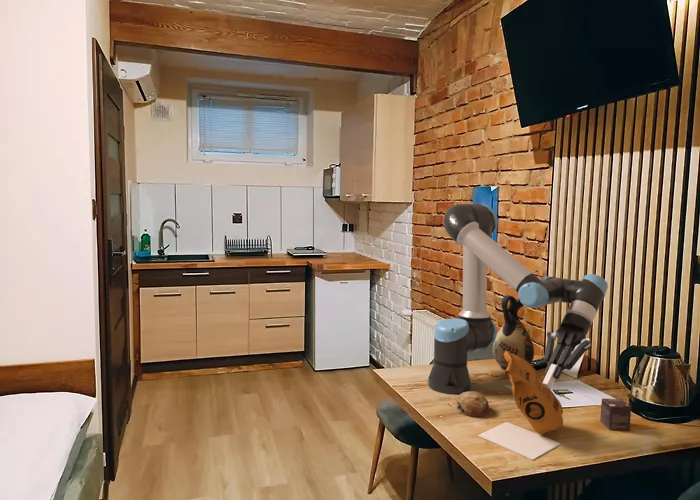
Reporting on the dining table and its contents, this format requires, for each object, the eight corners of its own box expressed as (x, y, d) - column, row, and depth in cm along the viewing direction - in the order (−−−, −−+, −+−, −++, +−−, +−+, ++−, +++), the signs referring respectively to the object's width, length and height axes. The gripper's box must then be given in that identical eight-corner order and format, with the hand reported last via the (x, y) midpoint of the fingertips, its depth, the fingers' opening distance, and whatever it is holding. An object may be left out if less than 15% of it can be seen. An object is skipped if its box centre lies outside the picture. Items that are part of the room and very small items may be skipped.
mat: (477, 436, 144) (477, 435, 144) (506, 422, 153) (506, 421, 153) (532, 460, 131) (532, 459, 131) (560, 444, 140) (560, 443, 140)
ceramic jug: (507, 361, 211) (511, 290, 208) (541, 372, 198) (545, 296, 195) (480, 369, 201) (483, 294, 198) (513, 381, 188) (517, 301, 185)
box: (619, 421, 155) (621, 398, 154) (630, 430, 149) (632, 406, 148) (599, 421, 155) (601, 398, 154) (609, 430, 149) (610, 406, 148)
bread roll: (453, 418, 164) (446, 399, 161) (472, 398, 169) (466, 379, 166) (478, 429, 156) (471, 409, 153) (497, 408, 161) (491, 388, 159)
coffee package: (533, 439, 144) (490, 380, 141) (533, 410, 155) (492, 355, 152) (567, 428, 140) (522, 367, 137) (563, 399, 151) (522, 342, 148)
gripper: (604, 331, 149) (573, 400, 140) (561, 323, 159) (529, 386, 150) (596, 315, 145) (564, 385, 136) (553, 308, 155) (520, 372, 146)
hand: (546, 386), depth 143 cm, fingers closed
